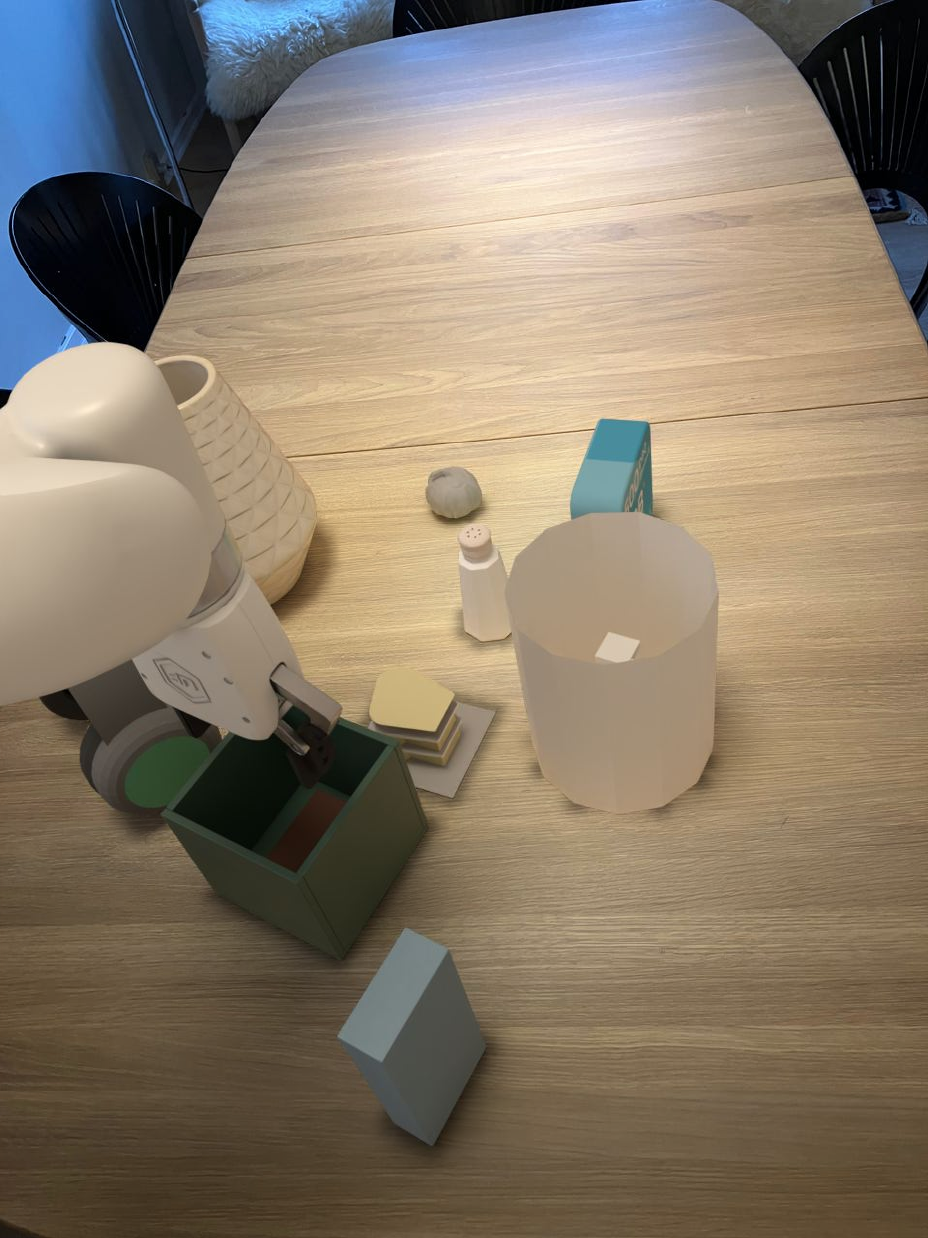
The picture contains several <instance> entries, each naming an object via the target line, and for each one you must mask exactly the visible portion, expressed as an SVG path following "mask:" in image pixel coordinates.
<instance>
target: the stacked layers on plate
mask: <svg viewBox="0 0 928 1238" xmlns="http://www.w3.org/2000/svg"><path fill="white" fill-rule="evenodd" d="M373 689H374V690H373V693H372V697H371V701H370V705H369V708H368V709H369V710H368V714H369V718H370V719H371V721H370V723H369V724H368V726H367V728H368V729H370V730H373V731H375V732H378V733H380V734H383V735H385V736H388V737H390V738H393V739H395V740H397V741H399V742H400V745H401V748H402V751H403V754H404V757H405V760H406V762H407V765H408V768H409V771H410V774H411V777H412V780H413V783H414V785H415V788H417V789H420V790H424V791H428V792H431V793H434V794H437V795H440V796H444V797H447V798H450V799H454V797H455V795H456V793H457V791H458V789H459V787H460V785H461V783H462V781H463V779H464V777H465V775H466V773H467V771H468V769H469V767H470V765H471V763H472V762H473V761H472V760H473V759H474V757H475V755H476V753H477V751H478V749H479V747H480V745H481V743H482V741H483V739H484V737H485V735H486V733H487V730H488V729H489V727H490V725H491V723H492V721H493V719H494V717H495V715H496V713H497V711H494V710H490V709H487V708H483V707H479V706H474V705H471V704H468V703H464V702H459V701H455V700H453V699H454V697H455V695H456V693H455V692H454V691H452V690H450V689H449V688H447V687H445V686H443V685H442V684H440V683H438V682H436V681H434V680H433V679H431V678H429V676H428V677H427V676H426V675H425V674H423V673H421V672H419V671H417V670H416V669H414V668H412V667H407V666H403V665H396V666H394V667H392V668H390V669H387V670H386V671H383V672H381V673H380V674H379V675H378V676H377V678H376V681H375V685H374V688H373Z"/></svg>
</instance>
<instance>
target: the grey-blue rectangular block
mask: <svg viewBox="0 0 928 1238" xmlns="http://www.w3.org/2000/svg"><path fill="white" fill-rule="evenodd" d="M336 1038H337V1039H338V1041H339V1042H340V1044H341V1045H342V1047H343V1048H344V1050H345V1051H346V1053H347V1055H348V1056H349V1057H350V1059H351V1060H352V1062H353V1064H354V1065H355V1066H356V1068H357V1069H358V1071H359V1072H360V1074H361V1076H362V1077H363V1079H364V1080H365V1081H366V1084H368V1087H370V1089H371V1091H372V1092H373V1094H374V1095H375V1097H376V1099H378V1101H379V1103H380V1104H381V1106H382V1107H383V1109H384V1110H385V1112H386V1113H387V1115H388V1116H389V1118H390V1119H391V1121H392V1122H393V1124H394V1125H396V1126H398V1128H400V1129H402V1130H404V1131H406V1132H407V1133H409V1134H411V1135H412V1136H414V1137H416V1138H418V1139H419V1140H420V1141H422V1142H424V1143H426V1144H427V1145H429V1146H431V1147H433V1146H434V1145H435V1144H436V1141H437V1139H438V1138H439V1136H440V1134H441V1133H442V1130H443V1128H444V1127H445V1125H446V1123H447V1121H448V1119H449V1117H450V1116H451V1114H452V1112H453V1110H454V1108H455V1106H456V1105H457V1103H458V1101H459V1099H460V1097H461V1095H462V1094H463V1091H464V1089H465V1088H466V1085H467V1084H468V1082H469V1080H470V1078H471V1077H472V1075H473V1073H474V1071H475V1069H476V1067H477V1065H478V1064H479V1061H480V1060H481V1059H482V1056H483V1055H484V1053H485V1050H486V1049H487V1044H486V1041H485V1039H484V1036H483V1033H482V1031H481V1028H480V1025H479V1023H478V1021H477V1018H476V1015H475V1013H474V1010H473V1008H472V1005H471V1002H470V1000H469V997H468V995H467V992H466V990H465V986H464V985H463V981H462V979H461V977H460V974H459V971H458V969H457V967H456V964H455V960H454V958H453V955H452V954H451V951H450V948H448V947H446V946H444V945H442V944H440V943H438V942H436V941H434V940H433V939H430V938H428V937H426V936H424V935H422V934H421V933H418V932H416V931H414V930H412V929H410V928H408V927H404V929H403V930H402V932H401V933H400V935H399V936H398V938H397V940H396V941H395V943H394V945H393V946H392V948H391V949H390V951H389V952H388V954H387V956H386V957H385V959H384V961H383V962H382V964H381V965H380V967H379V969H378V970H377V972H376V973H375V975H374V976H373V978H372V980H371V981H370V983H369V984H368V986H367V988H366V989H365V991H364V992H363V994H362V996H361V997H360V999H359V1000H358V1002H357V1003H356V1004H355V1006H354V1008H353V1010H352V1012H351V1013H350V1015H349V1016H348V1017H347V1020H346V1021H345V1022H344V1024H343V1026H342V1028H340V1031H339V1032H338V1034H337V1035H336Z"/></svg>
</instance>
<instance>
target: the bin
mask: <svg viewBox="0 0 928 1238" xmlns="http://www.w3.org/2000/svg"><path fill="white" fill-rule="evenodd" d="M275 694H276V696H277V698H278V702H279V701H280V700H281V698H282V697H281V696H280V695H278V694H277V693H276V692H275ZM306 718H307V717H306V716H305V715H304V714H303V713H302V712H301V711H300V710H299V709H298V708H297V707H296V706H294V705H293V706H292V707H291V709H290V710H289V711H288V712H287V714H286V715H285V716H284V717H283V719H282V720H283V721H284V722H285V723H286V724H287V725H289V726H290V727H291V728H292V729H293V730H294V731H295V732H296V731H297V730H298V728H299V727H300V726H301V724H302V723H303V722H304V721H305V719H306ZM330 737H331V739H332V741H333V744H334V746H335V749H336V751H337V753H336V757H335V758H334V762H333V765H332V766H331V768H330V769H329V770H328V772H327V773H326V774H325V775H322V776H321V777H320V778H319V780H318V781H317V782H316V784H315V785H314V786H313V788H312V789H307V788H305V787H302V786H301V783H300V782H299V779H298V777H297V775H296V773H295V771H294V769H293V767H292V765H291V763H290V761H289V759H288V757H287V755H286V750H287V748H288V747H289V746H288V745H286V744H285V743H284V742H283V741H282V740H281V739H280V738H279V737H278V736H277V735H276V734H275V733H274V732H273V733H272V734H271V735H270V737H269V738H268V739H264V740H252V739H247V738H244V737H242V736H239V735H237V734H234V733H232V732H229V731H227V733H226V735H225V736H224V737H222V741H221V742H220V743H219V744H218V746H217V747H216V748H215V749H214V750H213V752H212V753H211V754H210V755H209V756H208V758H207V759H206V760H205V761H204V762H203V764H202V765H201V766H200V767H199V768H198V770H197V771H196V772H195V773H194V774H193V776H192V777H191V778H190V779H189V780H188V782H187V783H186V784H185V785H184V786H183V788H182V789H181V790H180V791H179V793H178V794H177V795H176V796H175V797H174V799H173V800H172V801H171V802H170V803H169V805H168V806H167V807H166V808H165V810H164V811H163V812H162V813H160V816H161V817H162V819H163V820H164V822H165V824H167V826H168V827H169V829H170V830H171V832H172V833H173V834H174V836H175V838H176V839H177V840H178V841H179V843H180V844H181V846H182V847H183V849H184V850H185V852H186V853H187V854H188V856H189V857H190V859H191V860H192V861H193V863H194V865H195V866H196V867H197V869H198V871H200V873H201V874H202V876H203V878H204V879H205V880H206V881H207V883H208V884H209V886H210V887H211V889H212V890H213V891H214V893H215V895H218V896H219V897H221V898H223V899H225V900H227V901H229V902H230V903H232V904H234V905H236V906H238V907H240V908H242V909H244V910H246V911H247V912H249V913H251V914H253V915H255V916H257V917H259V918H261V919H262V920H264V921H266V922H268V923H270V924H272V925H274V926H275V927H277V928H279V929H281V930H282V931H284V932H287V933H289V934H291V935H292V936H294V937H295V938H298V939H299V940H301V941H303V942H305V943H306V944H309V945H311V946H312V947H314V948H316V949H318V950H320V951H322V952H324V953H326V954H327V955H329V956H331V957H333V958H335V959H336V960H339V961H340V962H342V961H343V960H344V958H345V956H346V955H347V953H348V952H349V951H350V949H351V947H352V946H353V944H354V943H355V941H356V940H357V938H358V937H359V936H360V934H361V932H362V930H363V929H364V927H365V926H366V924H367V922H369V920H370V918H371V916H372V915H373V914H374V912H375V910H376V909H377V907H378V906H379V905H380V903H381V901H382V900H383V899H384V897H385V895H386V893H387V892H388V891H389V889H390V887H391V886H392V885H393V883H394V882H395V880H396V878H397V877H398V876H399V874H400V872H401V871H402V869H403V868H404V866H405V864H406V863H407V862H408V860H409V859H410V857H411V855H412V854H413V852H414V851H415V849H416V848H417V847H418V845H419V843H420V842H421V840H422V838H423V837H424V836H425V834H426V833H427V831H428V829H429V828H430V826H429V823H428V820H427V818H426V814H425V811H424V809H423V806H422V803H421V800H420V797H419V794H418V791H417V789H416V788H417V787H415V785H414V783H413V780H412V777H411V774H410V771H409V768H408V765H407V762H406V760H405V757H404V754H403V751H402V748H401V745H400V742H399V741H397V740H395V739H393V738H390V737H388V736H385V735H383V734H380V733H378V732H375V731H373V730H370V729H368V727H365V726H363V725H360V724H358V723H356V722H353V721H352V720H351V721H350V720H349V719H346V718H343V717H341V716H340V718H339V722H338V723H337V725H336V726H335V727H334V729H333V730H332V731H331V733H330ZM317 789H318V790H321V791H323V792H325V793H327V794H329V795H332V796H334V797H336V798H338V799H341V800H343V801H345V802H347V803H346V804H345V806H344V807H343V808H342V810H341V811H340V813H339V814H338V815H337V817H336V818H335V820H334V821H333V822H332V824H331V825H330V827H329V828H328V829H327V831H326V832H325V833H324V835H323V836H322V838H321V839H320V840H319V842H318V843H317V845H316V846H315V847H314V849H313V850H312V852H311V853H310V854H309V856H308V857H307V859H306V860H305V861H304V863H303V864H302V866H301V867H300V868H299V870H298V871H297V874H296V873H294V872H292V871H290V870H288V869H286V868H284V867H282V866H280V865H278V864H276V863H274V862H272V861H270V860H268V859H266V858H267V856H268V855H269V854H270V852H271V851H272V849H273V848H274V847H275V845H276V844H277V843H278V841H279V840H280V839H281V837H282V836H283V835H284V833H285V832H286V831H287V829H288V828H289V827H290V825H291V824H292V822H293V821H294V820H295V818H296V817H297V816H298V814H299V813H300V812H301V810H302V809H303V808H304V806H305V805H306V804H307V802H308V801H309V800H310V798H311V797H312V795H313V794H314V793H315V791H316V790H317Z"/></svg>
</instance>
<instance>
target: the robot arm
mask: <svg viewBox="0 0 928 1238" xmlns="http://www.w3.org/2000/svg"><path fill="white" fill-rule="evenodd" d="M154 361H155V360H153V359H152V358H151V357H150V356H149V355H148V354H146V353H145V352H143V351H142V350H140V349H138V348H136V347H134V346H132V345H129V344H124V343H118V342H112V341H111V342H110V341H101V342H91V343H85V344H80V345H77V346H73V347H69V348H67V349H64V350H62V351H59V352H56V353H55V354H52V355H51V356H49V357H47V358H45V359H44V360H42V361H40V362H39V363H37V364H35V366H33V367H31V368H30V369H29V370H27V372H26V373H24V374H23V376H22V377H21V378H20V379H19V381H18V382H17V383H16V385H15V386H14V387H13V389H12V391H11V393H10V395H9V397H8V400H7V403H6V404H5V405H3V407H1V408H0V708H1V707H5V706H8V705H13V704H18V703H22V702H26V701H30V700H34V699H37V698H39V697H41V696H45V695H48V694H52V693H55V692H58V691H61V690H64V689H67V688H69V687H72V686H75V685H78V684H80V683H82V682H85V681H87V680H90V679H92V678H94V677H96V676H98V675H100V674H102V673H104V672H107V671H109V670H111V669H113V668H115V667H117V666H119V665H121V664H123V663H125V662H127V661H129V660H131V659H132V660H133V662H134V664H135V666H136V668H137V670H138V671H139V673H140V675H141V677H142V679H143V680H144V682H145V684H146V685H147V687H148V689H149V690H150V691H151V693H152V694H153V695H155V696H156V697H157V698H158V699H160V700H162V701H163V702H165V703H167V704H169V705H171V706H172V707H173V709H174V710H175V712H176V714H177V716H178V717H179V719H180V721H181V722H182V724H183V726H184V727H185V729H186V731H187V732H188V734H189V735H190V736H192V737H194V738H199V737H201V736H202V735H203V734H204V733H205V731H206V730H207V729H208V728H209V727H210V726H211V724H213V725H215V726H218V728H219V729H221V730H225V731H227V732H232V733H234V734H237V735H239V736H242V737H244V738H247V739H252V740H264V739H268V738H269V737H270V735H271V734H272V733H273V732H274V733H275V734H276V735H277V736H278V737H279V738H280V739H281V740H282V741H283V742H284V743H285V744H286V745H288V746H289V747H288V748H287V750H286V755H287V757H288V759H289V761H290V763H291V765H292V767H293V769H294V771H295V773H296V775H297V777H298V779H299V782H300V783H301V786H302V787H305V788H307V789H312V788H313V786H314V785H315V784H316V782H317V781H318V780H319V778H320V777H321V776H322V775H325V774H326V773H327V772H328V770H329V769H330V768H331V766H332V765H333V762H334V758H335V757H336V753H337V751H336V749H335V746H334V744H333V741H332V739H331V737H330V733H331V731H332V730H333V729H334V727H335V726H336V725H337V723H338V722H339V718H340V717H341V714H342V712H343V707H342V704H340V702H338V701H337V700H336V699H334V698H332V697H331V696H329V695H328V694H327V693H325V692H324V691H323V690H321V689H319V688H318V687H317V686H315V685H313V683H310V682H309V681H308V680H307V679H306V677H305V674H304V671H303V667H302V665H301V663H300V660H299V658H298V656H297V655H298V654H297V653H296V651H295V649H294V647H293V644H292V643H291V640H290V639H289V637H288V635H287V633H286V631H285V629H284V627H283V626H282V623H281V621H280V619H279V618H278V616H277V614H276V612H275V611H274V609H273V608H272V606H271V605H270V604H269V603H268V601H267V600H266V598H265V597H264V595H263V593H262V592H261V590H260V589H259V587H258V586H257V584H256V583H255V581H254V580H253V578H252V577H251V576H250V574H248V573H247V572H246V571H245V570H244V567H245V565H244V559H243V557H242V554H241V552H240V550H239V547H238V545H237V542H236V540H235V538H234V536H233V533H232V531H231V529H230V526H229V524H228V522H227V519H226V517H225V515H224V513H223V511H222V509H221V507H220V504H219V502H218V500H217V497H216V495H215V493H214V490H213V488H212V486H211V483H210V481H209V478H208V476H207V474H206V471H205V469H204V467H203V464H202V462H201V460H200V457H199V455H198V453H197V451H196V448H195V446H194V444H193V441H192V439H191V437H190V434H189V432H188V430H187V428H186V425H185V423H184V421H183V418H182V416H181V414H180V411H179V409H178V407H177V405H176V402H175V400H174V398H173V395H172V393H171V391H170V388H169V386H168V384H167V382H166V380H165V378H164V376H163V374H162V372H161V370H160V369H159V367H158V366H157V365H156V364H155V362H154ZM275 692H276V693H277V694H278V695H280V696H281V697H282V698H281V700H280V701H279V702H278V698H277V696H276V694H275ZM293 705H294V706H296V707H297V708H298V709H299V710H300V711H301V712H302V713H303V714H304V715H305V716H306V717H307V718H306V719H305V721H304V722H303V723H302V724H301V726H300V727H299V728H298V730H297V731H296V732H295V731H294V730H293V729H292V728H291V727H290V726H289V725H287V724H286V723H285V722H284V721H283V720H282V719H283V717H284V716H285V715H286V714H287V712H288V711H289V710H290V709H291V707H292V706H293Z"/></svg>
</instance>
